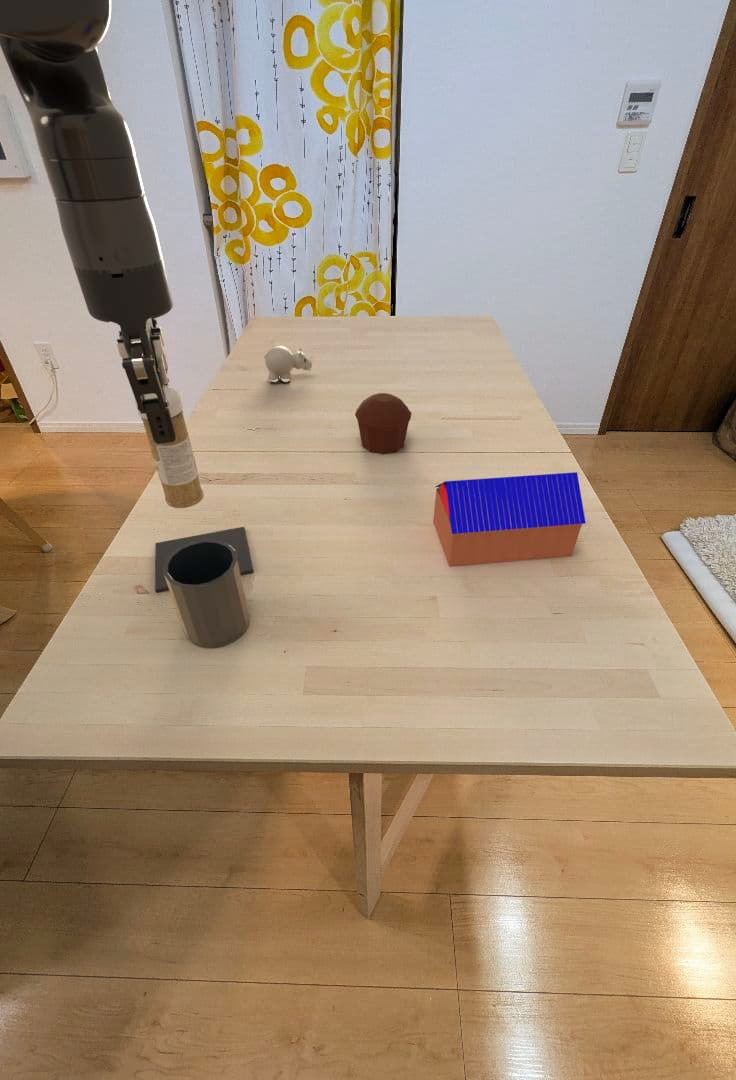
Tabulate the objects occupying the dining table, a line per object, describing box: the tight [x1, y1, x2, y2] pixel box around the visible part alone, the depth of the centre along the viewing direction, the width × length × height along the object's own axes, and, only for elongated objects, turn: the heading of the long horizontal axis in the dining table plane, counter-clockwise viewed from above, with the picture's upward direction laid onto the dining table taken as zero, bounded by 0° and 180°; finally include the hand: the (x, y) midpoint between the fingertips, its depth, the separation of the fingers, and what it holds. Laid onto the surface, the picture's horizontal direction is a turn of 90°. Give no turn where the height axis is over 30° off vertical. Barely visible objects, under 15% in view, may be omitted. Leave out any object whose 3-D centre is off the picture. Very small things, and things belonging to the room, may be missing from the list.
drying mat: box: [154, 526, 254, 593], centre depth 80 cm, size 14×11×1 cm
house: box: [432, 471, 587, 567], centre depth 80 cm, size 12×20×12 cm, turn 97°
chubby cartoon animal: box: [264, 345, 314, 380], centre depth 131 cm, size 7×12×8 cm, turn 97°
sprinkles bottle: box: [134, 386, 205, 509], centre depth 59 cm, size 5×5×14 cm
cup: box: [164, 540, 251, 649], centre depth 66 cm, size 9×9×11 cm
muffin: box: [354, 392, 412, 455], centre depth 105 cm, size 12×11×10 cm
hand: (165, 429), depth 57 cm, fingers closed on sprinkles bottle, 4 cm apart
